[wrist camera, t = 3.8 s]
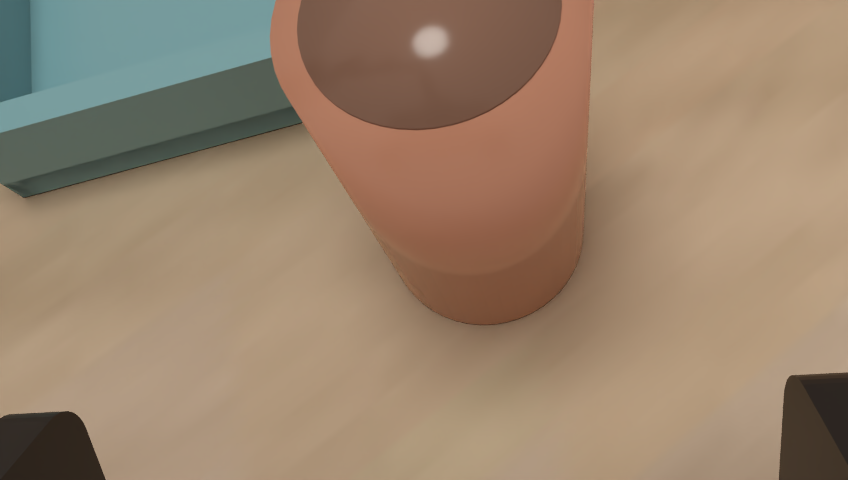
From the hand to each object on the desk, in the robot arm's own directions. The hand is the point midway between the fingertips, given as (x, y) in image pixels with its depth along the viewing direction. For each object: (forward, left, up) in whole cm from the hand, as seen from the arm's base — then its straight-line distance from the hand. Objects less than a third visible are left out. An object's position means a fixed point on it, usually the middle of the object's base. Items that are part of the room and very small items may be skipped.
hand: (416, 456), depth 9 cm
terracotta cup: (+1, +7, -12) cm, 14 cm away
